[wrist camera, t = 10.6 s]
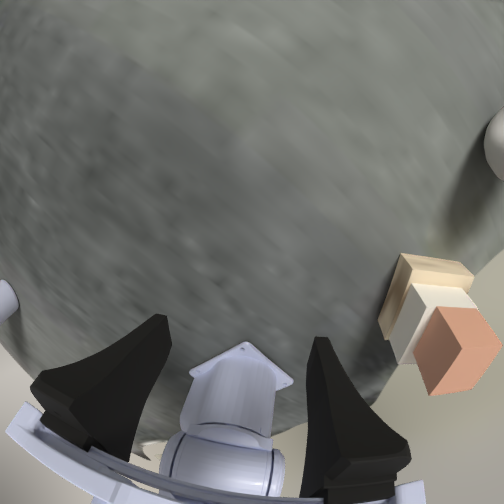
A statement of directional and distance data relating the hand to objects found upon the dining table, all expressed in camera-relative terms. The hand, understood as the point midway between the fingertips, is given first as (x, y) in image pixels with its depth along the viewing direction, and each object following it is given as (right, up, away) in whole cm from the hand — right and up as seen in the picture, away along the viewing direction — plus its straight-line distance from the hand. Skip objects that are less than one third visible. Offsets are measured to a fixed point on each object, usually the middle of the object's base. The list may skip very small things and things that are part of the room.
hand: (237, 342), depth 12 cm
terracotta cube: (+15, -2, +3) cm, 16 cm away
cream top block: (+15, -1, +6) cm, 17 cm away
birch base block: (+16, +1, +9) cm, 19 cm away
